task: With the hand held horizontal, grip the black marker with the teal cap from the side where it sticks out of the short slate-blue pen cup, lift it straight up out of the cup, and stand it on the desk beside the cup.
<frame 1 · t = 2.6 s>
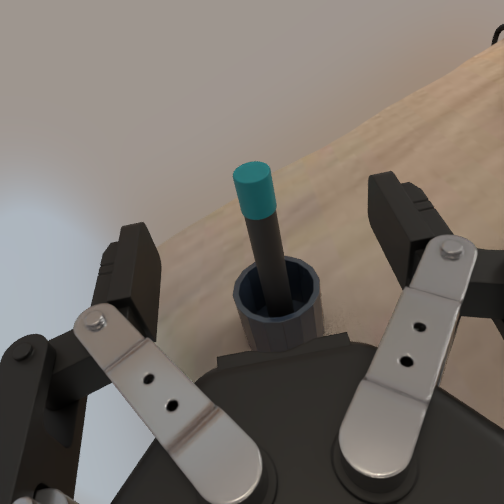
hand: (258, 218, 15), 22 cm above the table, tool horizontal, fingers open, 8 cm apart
marker: (284, 326, 38), point 1 cm above the table, touching pen cup
pen cup: (284, 329, 38), on the table
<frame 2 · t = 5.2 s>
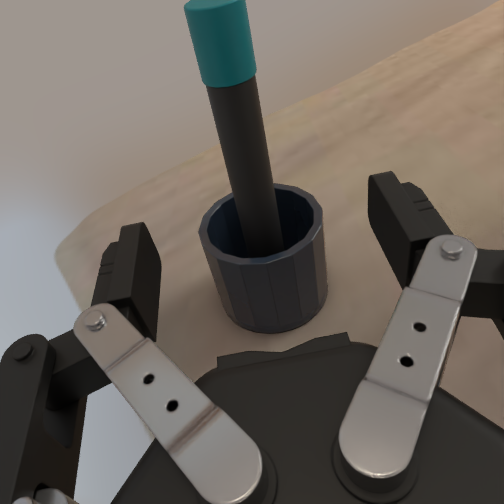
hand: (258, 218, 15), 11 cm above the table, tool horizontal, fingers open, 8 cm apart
marker: (272, 283, 27), point 1 cm above the table, touching pen cup
pen cup: (274, 289, 28), on the table
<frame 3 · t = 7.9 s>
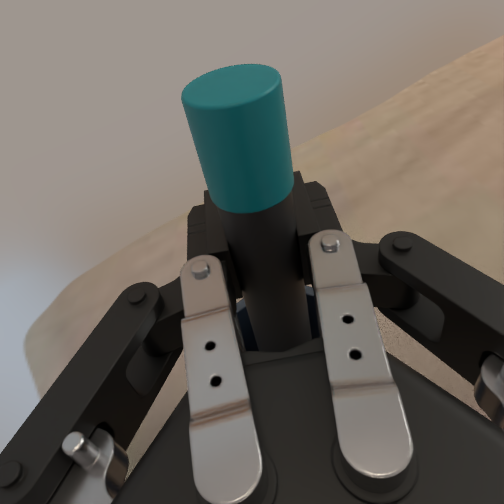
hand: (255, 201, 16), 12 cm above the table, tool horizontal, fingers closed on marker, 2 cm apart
marker: (298, 409, 21), point 1 cm above the table, touching gripper, pen cup
pen cup: (299, 414, 21), on the table
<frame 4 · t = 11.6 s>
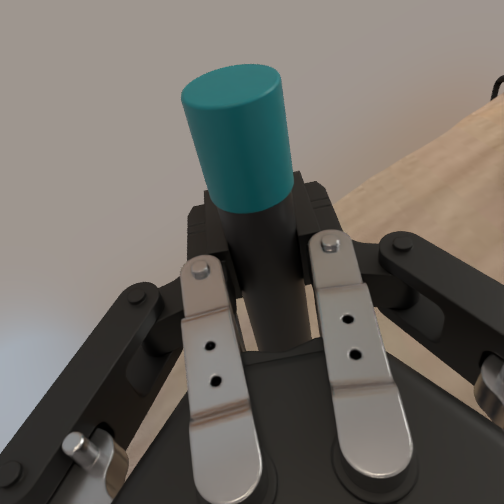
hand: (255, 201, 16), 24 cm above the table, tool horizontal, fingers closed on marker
marker: (298, 409, 21), point 13 cm above the table, touching gripper
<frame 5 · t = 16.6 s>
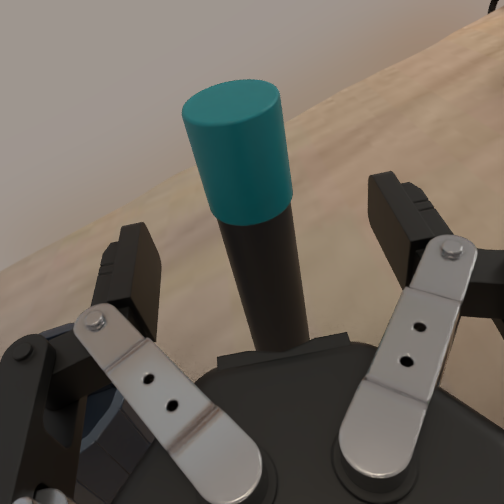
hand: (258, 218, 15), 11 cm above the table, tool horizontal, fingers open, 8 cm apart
marker: (297, 414, 21), on the table
pen cup: (107, 448, 22), on the table
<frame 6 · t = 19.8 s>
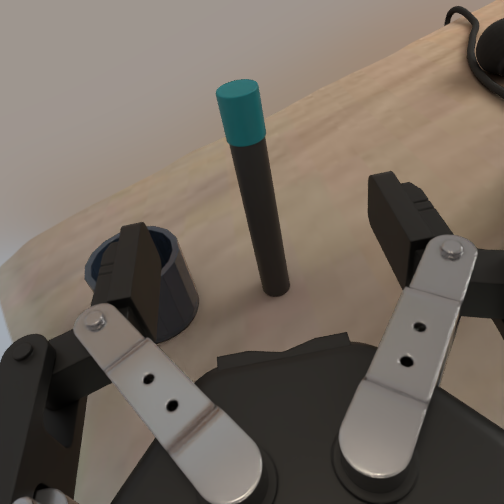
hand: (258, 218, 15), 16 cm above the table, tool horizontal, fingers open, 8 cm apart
marker: (276, 286, 34), on the table
pen cup: (157, 308, 35), on the table
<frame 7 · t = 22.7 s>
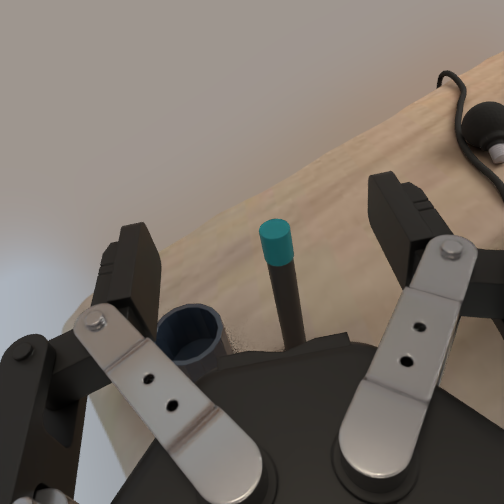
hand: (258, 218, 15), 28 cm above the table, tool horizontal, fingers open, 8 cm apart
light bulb: (486, 149, 63), on the table
marker: (296, 348, 43), on the table
pen cup: (202, 366, 44), on the table
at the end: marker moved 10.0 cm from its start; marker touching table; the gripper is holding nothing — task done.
